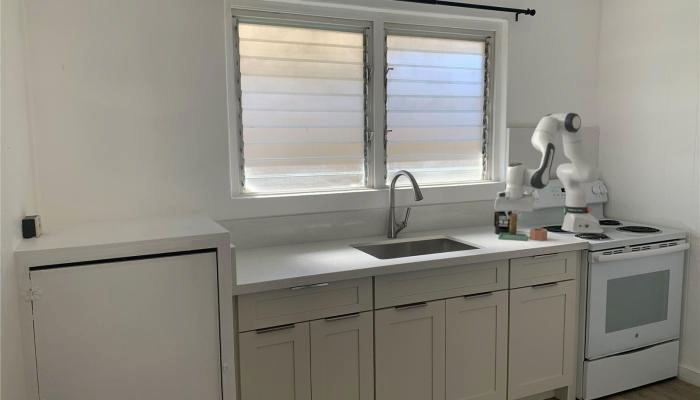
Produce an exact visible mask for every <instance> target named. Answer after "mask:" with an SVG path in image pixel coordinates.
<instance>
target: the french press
mask: <svg viewBox="0 0 700 400" xmlns="http://www.w3.org/2000/svg"><path fill="white" fill-rule="evenodd" d="M507 214H508V215H509V216H510V214H513V211H508V213H507ZM493 215H494V216H493V217H494V221H493V226H494V234H495V235H500V233H509V229H510V219H507V220H505V217H507V215H506V214H505V211H500V210H498V211H494V214H493ZM500 217H502V218H503V219H502V220H500ZM505 225H506V226H505Z"/></svg>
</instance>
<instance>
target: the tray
mask: <svg viewBox="0 0 700 400" xmlns="http://www.w3.org/2000/svg"><path fill="white" fill-rule="evenodd" d="M527 238H528V234H527V233H516V235H510V234H509V233H500V234H498V238H497V239H498V240H503V241H519V242H520V241H522V242H527Z"/></svg>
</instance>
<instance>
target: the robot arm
mask: <svg viewBox="0 0 700 400" xmlns="http://www.w3.org/2000/svg"><path fill="white" fill-rule="evenodd" d="M581 125H582V118H581V117H580V115H579V114H578V113H576V112H559V113H558V112H557V113H549V114H546V115H545V116H543V117H542V118H541V119H540V120H539V122H538V124H537V126H536V128H535V129H534V132H533V134H532V137H531V140H530V141H531V142H530V143H531V145H532V146H533V148H534V149H535V150H537V151H538V152H540V153H541V154H542V157H541V160H540V163H539V164H540V165H539V167H538V168H537V169H533V168H532V169H531V168H528V167H525V166H524V165H523V163H521V162H512V163H510V164H509V165H508V166H507V167H506V173H505V181H506V185H505V189H504V190H502V191H498V192H496V196H497V197H496V198H495V200H494V204H493V205H494V206H493V208H494V211H505V214H506V215H507V216H506V219H507V220H508V219H510V216H509V215H508V214H507V213H508V212H519V215H517V221H520V219H521V218H520V217H522V214H523V212H524V213H525V212H529V213H532V212H534V211H535V210H534V208H535V207H534V203H535V201H536V197H535V196H534V195H533V194H531V193H530V194H529V193H524V187H526V188H533V189H538V190H543V189H545V188H546V187H547V186H548V185H549V182H550V174H551V169H552V165H553V161H554V157H555V152H556V147H555V145H554V140H555V138H556V135H557V134H561V135H562V148H563V152H564V153H563V155H565V157H566V158H567V159H569V161H571V162H565V163H561V164H558V166H557V168H556V176H557V179H559V181H561V183H562V185H563V188H564V191H565V205H564V209H563V213H564V218H563V223H562V226H561V230H563V231H566V232H571V233H575V234H578V233H581V234H582V233H583V234H602V233H604V229H603V228H601V227H600V226H601V225H600V221H599V219H597V218H596V217H595V216H594V215H593V214H591V211H592V209H591V208H590V207H588V206H587V192H586V190H584V189H582V187H581V184H591V183H595V182H597V181H598V179H599V178H600V169H599V168H598V166H596V165H595V163H593V162H592V160H591V159H590V158H589V156H588V154H587V152H586V146H585V139H584V134H583V129H582V126H581ZM580 183H581V184H580Z"/></svg>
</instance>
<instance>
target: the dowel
mask: <svg viewBox="0 0 700 400" xmlns="http://www.w3.org/2000/svg"><path fill="white" fill-rule="evenodd" d="M517 216H518V214H517V213H512V214H510V229H509V234H510V235H516V234H517V225H518V224H517V223H518V220H517Z"/></svg>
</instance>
